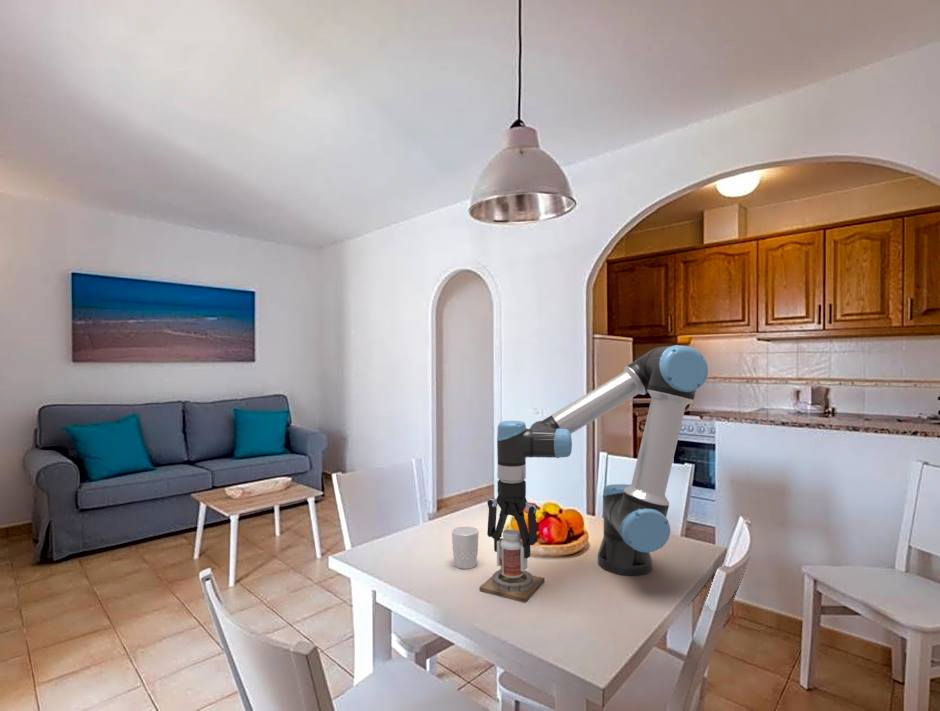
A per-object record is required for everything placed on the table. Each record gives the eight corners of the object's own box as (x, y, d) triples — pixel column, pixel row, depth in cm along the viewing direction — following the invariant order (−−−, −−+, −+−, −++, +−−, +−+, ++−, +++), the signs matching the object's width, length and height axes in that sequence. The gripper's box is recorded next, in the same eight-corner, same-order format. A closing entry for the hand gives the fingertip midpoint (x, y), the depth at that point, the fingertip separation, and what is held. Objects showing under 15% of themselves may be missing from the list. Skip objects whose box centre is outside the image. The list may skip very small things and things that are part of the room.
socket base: (544, 581, 132) (544, 572, 132) (525, 602, 121) (525, 592, 121) (501, 571, 138) (501, 562, 138) (479, 590, 127) (479, 581, 127)
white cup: (459, 557, 149) (459, 524, 149) (483, 561, 145) (482, 528, 145) (447, 567, 142) (447, 532, 142) (471, 572, 138) (471, 536, 138)
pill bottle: (528, 575, 129) (528, 533, 129) (510, 581, 125) (510, 538, 125) (513, 566, 134) (513, 526, 134) (495, 572, 130) (495, 531, 130)
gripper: (550, 480, 128) (551, 569, 128) (486, 472, 138) (486, 554, 138) (540, 487, 122) (540, 580, 122) (473, 478, 131) (473, 564, 131)
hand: (512, 566), depth 130 cm, fingers closed on pill bottle, 6 cm apart
